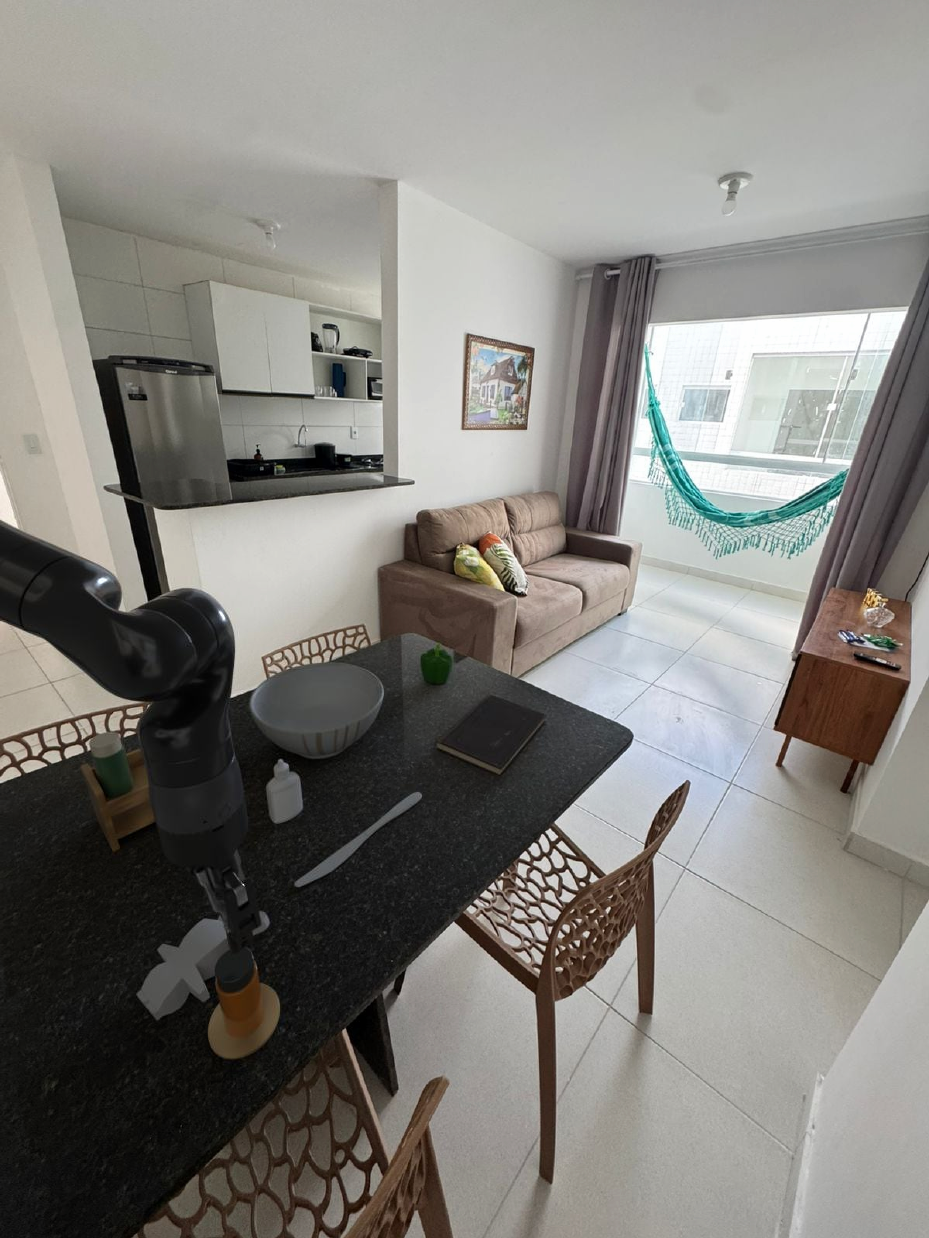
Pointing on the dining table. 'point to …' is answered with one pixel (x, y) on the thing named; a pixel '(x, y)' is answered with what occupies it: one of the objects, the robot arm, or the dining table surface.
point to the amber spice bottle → (239, 992)
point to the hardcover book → (492, 734)
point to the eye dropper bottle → (284, 794)
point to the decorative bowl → (317, 707)
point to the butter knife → (356, 842)
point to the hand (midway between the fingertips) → (223, 917)
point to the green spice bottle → (111, 764)
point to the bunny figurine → (187, 967)
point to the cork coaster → (248, 1044)
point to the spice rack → (121, 802)
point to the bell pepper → (436, 665)
